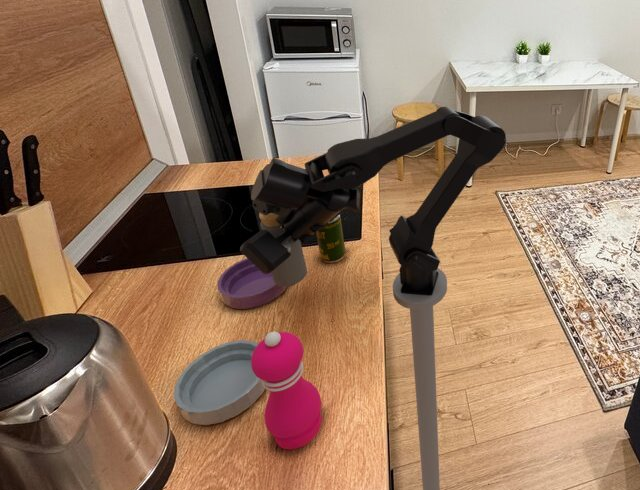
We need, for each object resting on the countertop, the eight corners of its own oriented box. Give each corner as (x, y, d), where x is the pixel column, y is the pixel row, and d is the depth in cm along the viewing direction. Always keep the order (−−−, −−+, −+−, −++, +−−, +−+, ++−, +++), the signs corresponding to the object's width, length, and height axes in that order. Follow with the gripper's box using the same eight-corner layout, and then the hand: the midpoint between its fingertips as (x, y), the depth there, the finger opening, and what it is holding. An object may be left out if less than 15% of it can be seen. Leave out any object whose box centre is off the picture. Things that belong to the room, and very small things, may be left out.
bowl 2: (286, 357, 72) (282, 343, 70) (242, 430, 61) (236, 416, 59) (216, 351, 72) (211, 337, 70) (160, 423, 61) (152, 408, 59)
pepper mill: (266, 422, 62) (232, 329, 53) (316, 394, 66) (293, 303, 57) (278, 465, 57) (244, 370, 48) (332, 432, 61) (310, 339, 52)
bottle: (306, 283, 79) (290, 218, 72) (271, 290, 77) (252, 224, 70) (308, 262, 84) (293, 200, 77) (275, 268, 82) (257, 205, 75)
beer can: (336, 245, 98) (329, 202, 93) (351, 255, 95) (344, 211, 90) (315, 257, 94) (307, 213, 89) (330, 267, 91) (322, 223, 86)
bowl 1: (301, 269, 91) (298, 256, 89) (269, 313, 80) (265, 299, 78) (246, 264, 91) (242, 252, 89) (207, 308, 80) (202, 294, 78)
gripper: (321, 149, 76) (283, 188, 84) (233, 201, 60) (197, 244, 68) (363, 193, 78) (323, 228, 86) (289, 256, 62) (247, 292, 70)
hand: (277, 245), depth 77 cm, fingers closed on bottle, 6 cm apart
